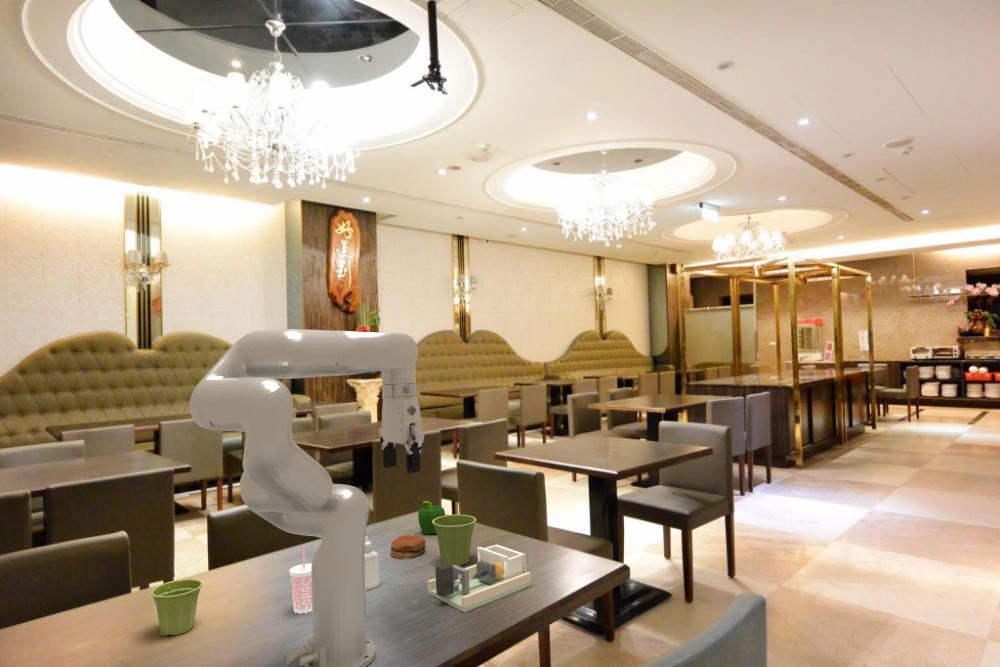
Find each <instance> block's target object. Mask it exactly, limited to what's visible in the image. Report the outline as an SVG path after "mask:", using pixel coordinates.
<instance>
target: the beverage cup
mask: <svg viewBox="0 0 1000 667" xmlns="http://www.w3.org/2000/svg"><path fill="white" fill-rule="evenodd" d="M311 566H312V562H311V563H306V545H305V544H302V564H297V565H294V566H292V567H291V568H289V576H290V578H291V579H290V582H291V594H292V604H293V605H292V606H293V607H292V608H293V613H294V612H295V614H296V613H299V614H298V615H302V613H305V614H309V613H311V611H312V577H311ZM308 612H309V613H308Z"/></svg>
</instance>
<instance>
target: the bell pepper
mask: <svg viewBox="0 0 1000 667" xmlns="http://www.w3.org/2000/svg"><path fill="white" fill-rule="evenodd" d="M422 503H423V505H424V506H422V507H419V509H418V511H417V515H418V524H419V527H420V530H421V533H423V534H424V535H431V534H433V535H437V534H436V531H435V526H434V524H433V523H432V521H433V520H434V519H435V518H437V517H441V516H445V515H446V510H445V508H444V507H442V506H441V505H440V504H436V505H434V506H433V504H432V502H430V501H429V500H424V501H422ZM425 505H427V506H425ZM429 533H431V534H429Z"/></svg>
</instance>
